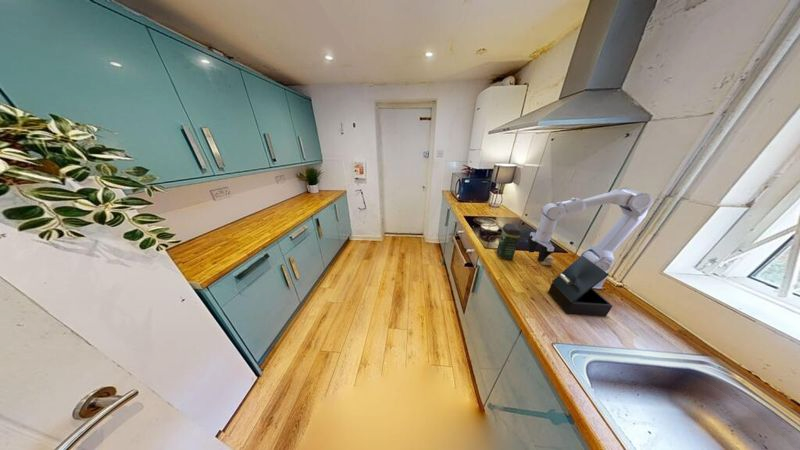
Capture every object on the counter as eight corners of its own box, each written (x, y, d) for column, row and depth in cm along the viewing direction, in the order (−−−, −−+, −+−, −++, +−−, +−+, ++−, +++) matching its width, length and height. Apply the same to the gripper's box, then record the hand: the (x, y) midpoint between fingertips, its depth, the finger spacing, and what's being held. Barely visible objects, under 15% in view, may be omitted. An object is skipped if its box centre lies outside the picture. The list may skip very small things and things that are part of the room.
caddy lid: (583, 255, 77) (574, 250, 76) (609, 274, 66) (599, 268, 66) (553, 281, 83) (544, 277, 82) (573, 302, 72) (563, 297, 72)
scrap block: (545, 260, 108) (548, 253, 106) (550, 265, 104) (553, 258, 102) (537, 260, 108) (540, 253, 106) (542, 264, 104) (545, 257, 102)
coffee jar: (514, 261, 106) (524, 230, 99) (499, 259, 108) (507, 228, 100) (509, 251, 115) (517, 222, 107) (494, 250, 116) (502, 221, 108)
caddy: (582, 294, 85) (587, 284, 82) (605, 316, 74) (612, 305, 72) (547, 292, 85) (552, 282, 83) (566, 314, 75) (572, 303, 72)
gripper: (527, 223, 93) (519, 248, 99) (545, 237, 80) (535, 265, 86) (542, 224, 93) (533, 248, 99) (563, 238, 80) (552, 266, 86)
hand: (535, 256), depth 92 cm, fingers open, 7 cm apart
